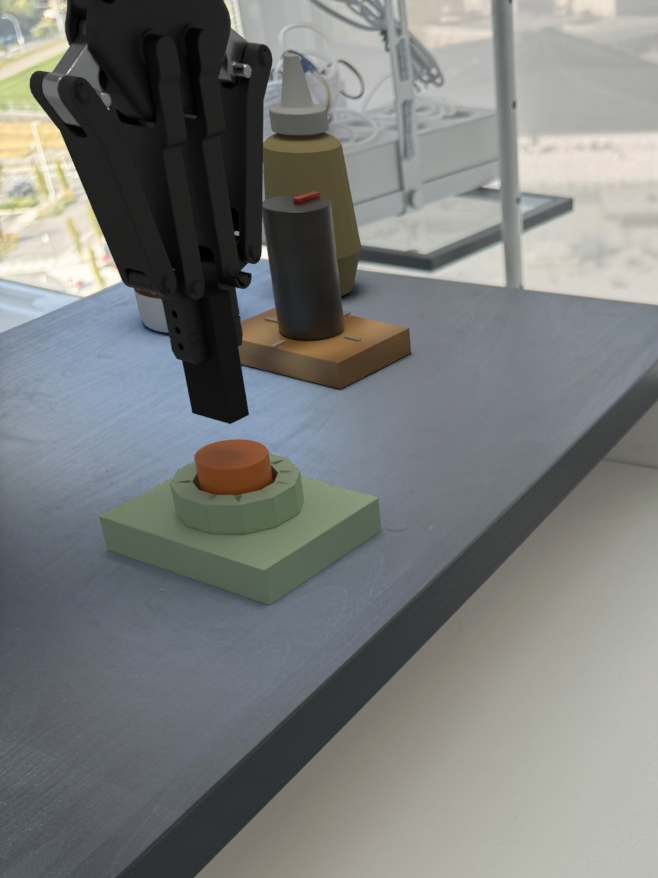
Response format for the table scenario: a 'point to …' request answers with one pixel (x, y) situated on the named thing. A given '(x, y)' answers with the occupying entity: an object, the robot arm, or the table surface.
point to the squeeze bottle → (310, 163)
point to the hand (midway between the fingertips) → (220, 413)
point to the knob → (303, 266)
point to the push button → (233, 467)
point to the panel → (323, 350)
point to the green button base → (244, 530)
